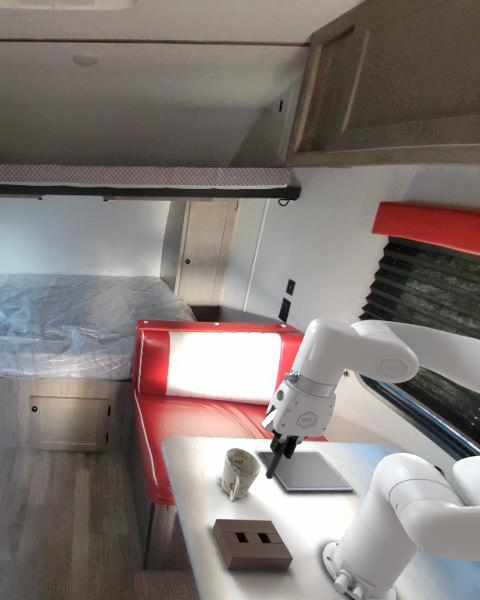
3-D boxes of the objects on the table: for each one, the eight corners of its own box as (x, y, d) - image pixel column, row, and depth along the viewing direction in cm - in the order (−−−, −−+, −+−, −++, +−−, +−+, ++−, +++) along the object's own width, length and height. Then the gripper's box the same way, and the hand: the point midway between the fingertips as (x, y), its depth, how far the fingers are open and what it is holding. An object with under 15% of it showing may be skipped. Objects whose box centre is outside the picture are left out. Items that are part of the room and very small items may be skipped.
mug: (250, 483, 92) (260, 456, 88) (248, 522, 81) (260, 493, 77) (218, 470, 95) (227, 443, 91) (213, 505, 84) (223, 476, 81)
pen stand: (287, 570, 72) (293, 558, 70) (227, 569, 71) (232, 557, 69) (266, 531, 79) (271, 520, 78) (212, 530, 78) (216, 518, 77)
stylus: (269, 481, 72) (290, 435, 68) (263, 476, 74) (282, 431, 69) (272, 478, 73) (293, 433, 68) (266, 473, 74) (286, 428, 70)
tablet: (317, 454, 105) (318, 452, 104) (352, 491, 93) (353, 489, 92) (258, 453, 102) (259, 451, 102) (286, 492, 90) (287, 489, 90)
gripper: (283, 389, 60) (252, 465, 67) (365, 397, 61) (327, 471, 67) (261, 366, 67) (236, 436, 74) (336, 373, 68) (303, 442, 74)
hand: (279, 452), depth 70 cm, fingers closed on stylus, 1 cm apart
